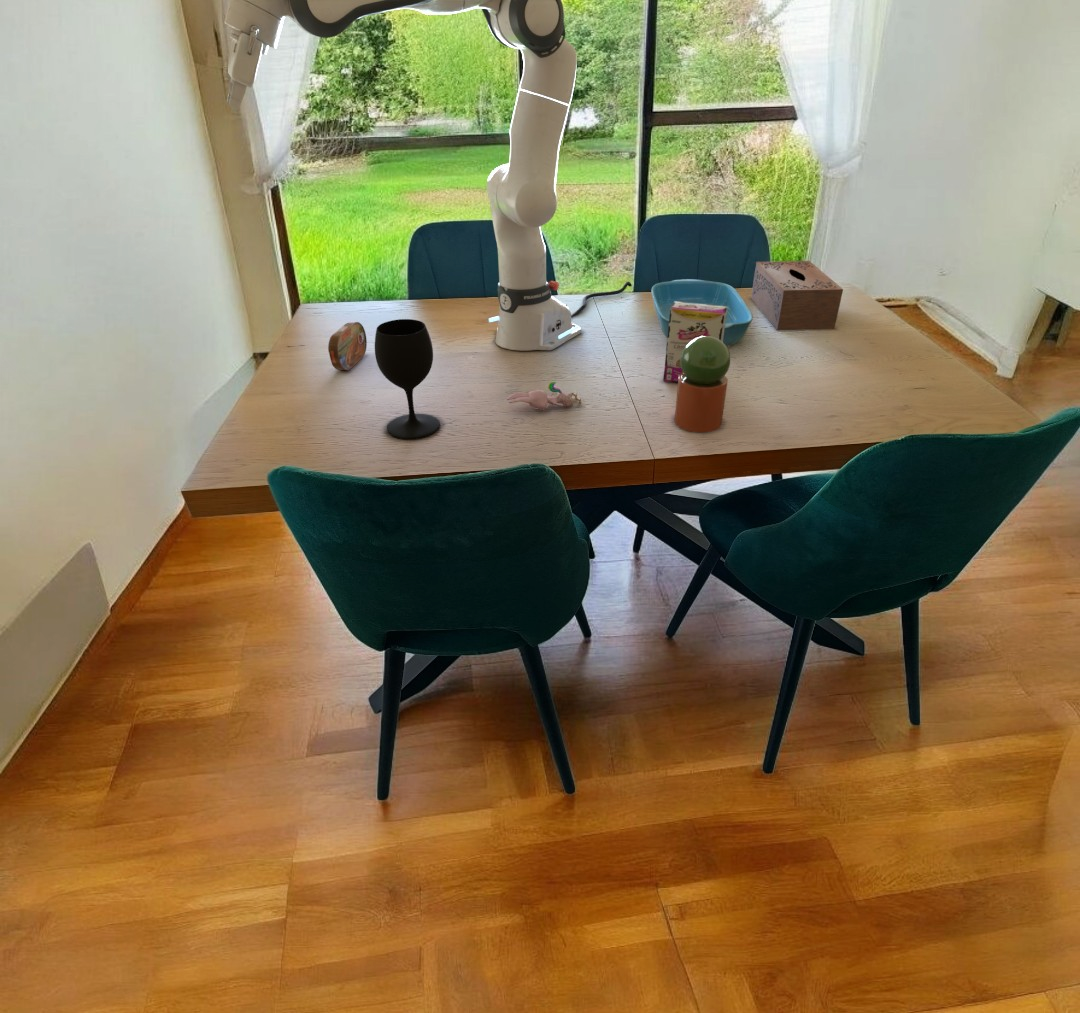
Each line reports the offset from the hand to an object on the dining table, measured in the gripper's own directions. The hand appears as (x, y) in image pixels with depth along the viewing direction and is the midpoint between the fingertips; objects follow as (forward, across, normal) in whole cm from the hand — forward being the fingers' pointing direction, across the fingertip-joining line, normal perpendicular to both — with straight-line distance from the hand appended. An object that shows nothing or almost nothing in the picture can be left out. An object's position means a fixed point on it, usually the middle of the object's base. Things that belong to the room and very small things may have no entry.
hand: (232, 107), depth 132 cm
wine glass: (+38, -36, -42) cm, 67 cm away
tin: (+41, +2, -36) cm, 55 cm away
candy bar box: (+10, -38, -95) cm, 103 cm away
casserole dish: (+1, -10, -112) cm, 113 cm away
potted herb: (+14, -55, -87) cm, 104 cm away
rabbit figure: (+26, -38, -65) cm, 80 cm away
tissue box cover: (-12, -10, -138) cm, 138 cm away
